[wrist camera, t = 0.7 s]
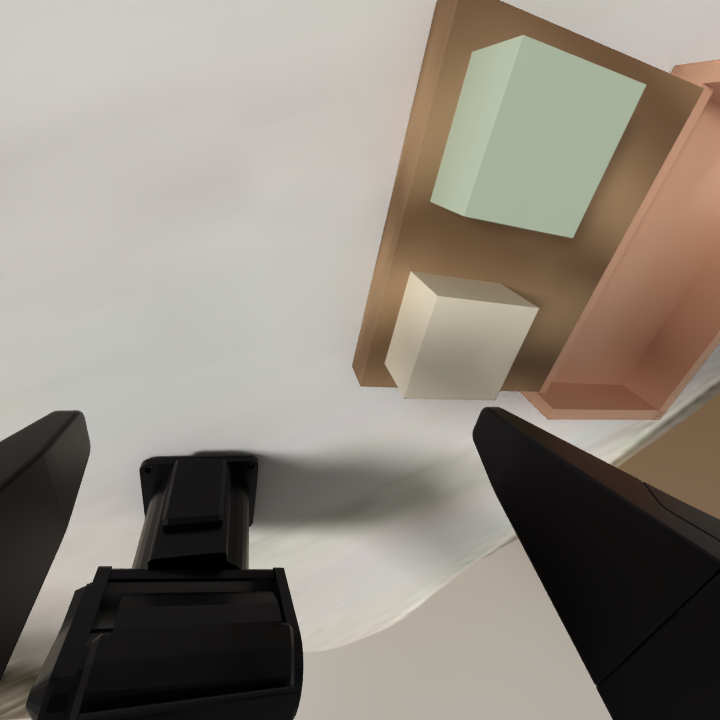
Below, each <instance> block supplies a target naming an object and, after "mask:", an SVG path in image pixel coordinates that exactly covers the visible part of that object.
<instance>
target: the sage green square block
mask: <svg viewBox="0 0 720 720" xmlns="http://www.w3.org/2000/svg"><path fill="white" fill-rule="evenodd" d="M645 87H646V84H644V83H641V82H639V81H636V80H634V79H631V78H629V77H626V76H624V75H621V74H619V73H616V72H614V71H611V70H609V69H607V68H604V67H602V66H599V65H597V64H594V63H592V62H589V61H587V60H584V59H582V58H579V57H577V56H574V55H572V54H569V53H567V52H565V51H562V50H560V49H557V48H555V47H552V46H550V45H547V44H545V43H542V42H540V41H537V40H535V39H532V38H530V37H527V36H525V35H522V36H519V37H516V38H513V39H509V40H506V41H503V42H500V43H497V44H494V45H491V46H488V47H485V48H482V49H479V50H476V51H473V52H472V54H471V58H470V61H469V65H468V68H467V72H466V75H465V79H464V83H463V86H462V90H461V93H460V97H459V100H458V104H457V108H456V111H455V115H454V118H453V122H452V125H451V129H450V132H449V136H448V140H447V143H446V147H445V150H444V154H443V157H442V161H441V164H440V168H439V172H438V175H437V179H436V182H435V186H434V189H433V193H432V196H431V200H430V202H432V203H434V204H436V205H439V206H441V207H443V208H446V209H448V210H450V211H453V212H455V213H457V214H460V215H462V216H465V217H470V218H475V219H480V220H485V221H490V222H495V223H499V224H504V225H509V226H514V227H519V228H524V229H529V230H534V231H539V232H544V233H549V234H554V235H559V236H564V237H569V238H573V237H574V235H575V233H576V231H577V229H578V227H579V224H580V222H581V220H582V218H583V216H584V214H585V212H586V210H587V208H588V206H589V204H590V201H591V199H592V197H593V195H594V193H595V191H596V189H597V187H598V185H599V183H600V181H601V179H602V176H603V174H604V172H605V170H606V168H607V166H608V164H609V162H610V160H611V158H612V156H613V154H614V151H615V149H616V147H617V145H618V143H619V141H620V139H621V137H622V135H623V133H624V131H625V129H626V126H627V124H628V122H629V120H630V118H631V116H632V114H633V112H634V110H635V108H636V106H637V103H638V101H639V99H640V97H641V95H642V93H643V91H644V89H645Z"/></svg>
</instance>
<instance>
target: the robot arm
mask: <svg viewBox="0 0 720 720" xmlns="http://www.w3.org/2000/svg"><path fill="white" fill-rule="evenodd" d="M473 441H474V443H475V446H476V448H477V451H478V453H479V455H480V458H481V460H482V463H483V465H484V468H485V470H486V473H487V475H488V478H489V480H490V483H491V485H492V487H493V489H494V492H495V494H496V496H497V498H498V500H499V502H500V504H501V505H502V507H503V509H504V511H505V513H506V515H507V517H508V519H509V521H510V523H511V525H512V527H513V528H514V530H515V532H516V534H517V536H518V538H519V540H520V542H521V544H522V545H523V548H524V550H525V552H526V553H527V555H528V557H529V559H530V561H531V563H532V565H533V567H534V569H535V571H536V573H537V575H538V576H539V578H540V580H541V582H542V584H543V586H544V588H545V590H546V592H547V594H548V596H549V597H550V599H551V601H552V603H553V605H554V607H555V609H556V611H557V613H558V615H559V617H560V619H561V621H562V622H563V624H564V626H565V628H566V630H567V632H568V634H569V636H570V637H571V639H572V642H573V644H574V645H575V647H576V649H577V651H578V653H579V655H580V657H581V659H582V661H583V663H584V664H585V667H586V669H587V670H588V672H589V674H590V676H591V678H592V680H593V682H594V684H595V685H597V686H596V688H597V690H598V692H599V694H600V696H601V698H602V700H603V702H604V704H605V706H606V707H607V710H608V711H609V713H610V715H611V717H612V719H613V720H720V520H719V519H717V518H715V517H713V516H711V515H709V514H707V513H705V512H703V511H701V510H698V509H697V508H694V507H692V506H690V505H688V504H686V503H684V502H682V501H680V500H678V499H676V498H674V497H672V496H670V495H668V494H666V493H665V492H663V491H661V490H659V489H657V488H655V487H653V486H651V485H649V484H647V483H645V482H642V481H641V480H639V479H637V478H635V477H633V476H631V475H629V474H627V473H626V472H624V471H622V470H620V469H618V468H616V467H614V466H612V465H610V464H608V463H606V462H604V461H602V460H601V459H599V458H597V457H595V456H593V455H591V454H589V453H587V452H585V451H583V450H581V449H579V448H577V447H575V446H573V445H572V444H570V443H568V442H566V441H564V440H562V439H560V438H558V437H556V436H554V435H552V434H550V433H548V432H546V431H545V430H543V429H541V428H539V427H537V426H535V425H533V424H531V423H529V422H527V421H525V420H523V419H521V418H519V417H517V416H516V415H514V414H512V413H510V412H508V411H506V410H504V409H502V408H500V407H485V408H483V409H482V411H481V413H480V415H479V417H478V420H477V422H476V425H475V427H474V429H473ZM89 455H90V440H89V435H88V431H87V426H86V421H85V417H84V415H83V413H82V412H80V411H77V410H73V411H54V412H52V413H50V414H48V415H47V416H45V417H43V418H41V419H39V420H38V421H36V422H34V423H32V424H31V425H29V426H27V427H25V428H24V429H22V430H20V431H18V432H16V433H15V434H13V435H11V436H9V437H8V438H6V439H4V440H2V441H1V442H0V680H1V677H2V675H3V673H4V671H5V668H6V666H7V664H8V662H9V659H10V657H11V655H12V653H13V650H14V648H15V646H16V643H17V641H18V639H19V637H20V634H21V632H22V630H23V628H24V625H25V623H26V621H27V619H28V616H29V614H30V612H31V610H32V607H33V605H34V603H35V601H36V598H37V596H38V594H39V592H40V589H41V587H42V585H43V583H44V580H45V578H46V576H47V573H48V571H49V569H50V567H51V564H52V562H53V560H54V558H55V555H56V553H57V551H58V549H59V546H60V544H61V542H62V539H63V537H64V534H65V532H66V529H67V526H68V523H69V520H70V517H71V514H72V511H73V508H74V504H75V501H76V498H77V494H78V491H79V488H80V485H81V481H82V478H83V475H84V471H85V468H86V465H87V461H88V458H89ZM248 464H251V465H248ZM148 467H152V468H148ZM257 476H258V459H257V458H256V457H254V456H234V457H199V458H164V459H147V460H145V461H143V462H142V464H141V467H140V479H141V488H142V496H143V504H144V513H145V521H144V525H143V529H142V533H141V536H140V540H139V544H138V547H137V551H136V555H135V559H134V562H133V566H132V569H112V566H99V567H98V569H97V572H96V575H95V577H94V580H93V582H92V583H90V584H87V585H86V586H85V587H82V588H80V589H78V590H76V591H75V593H74V596H73V598H72V601H71V604H70V606H69V609H68V612H67V614H66V617H65V619H64V622H63V624H62V627H61V629H60V632H59V634H58V636H57V638H56V640H55V642H54V644H53V646H52V648H51V650H50V652H49V654H48V656H47V658H46V660H45V662H44V664H43V666H42V668H41V671H40V673H39V675H38V677H37V679H36V681H35V683H34V685H33V687H32V689H31V691H30V694H29V697H28V700H27V703H26V706H25V709H26V711H27V712H28V714H29V716H30V717H31V719H32V720H293V719H294V717H295V716H296V713H297V709H298V707H299V702H300V697H301V691H302V682H303V648H302V640H301V635H300V630H299V626H298V622H297V618H296V614H295V610H294V606H293V602H292V599H291V595H290V591H289V587H288V583H287V579H286V575H285V571H284V568H273V569H249V527H250V526H251V525H252V523H253V515H254V505H255V495H256V486H257Z"/></svg>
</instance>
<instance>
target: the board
mask: <svg viewBox="0 0 720 720" xmlns="http://www.w3.org/2000/svg"><path fill="white" fill-rule="evenodd" d="M522 35H525V36H527V37H530V38H532V39H535V40H537V41H540V42H542V43H545V44H547V45H550V46H552V47H555V48H557V49H560V50H562V51H565V52H567V53H569V54H572V55H574V56H577V57H579V58H582V59H584V60H587V61H589V62H592V63H594V64H597V65H599V66H602V67H604V68H607V69H609V70H611V71H614V72H616V73H619V74H621V75H624V76H626V77H629V78H631V79H634V80H636V81H639V82H641V83H644V84H646V87H645V89H644V91H643V93H642V95H641V97H640V99H639V101H638V103H637V106H636V108H635V110H634V112H633V114H632V116H631V118H630V120H629V122H628V124H627V126H626V129H625V131H624V133H623V135H622V137H621V139H620V141H619V143H618V145H617V147H616V149H615V151H614V154H613V156H612V158H611V160H610V162H609V164H608V166H607V168H606V170H605V172H604V174H603V176H602V179H601V181H600V183H599V185H598V187H597V189H596V191H595V193H594V195H593V197H592V199H591V201H590V204H589V206H588V208H587V210H586V212H585V214H584V216H583V218H582V220H581V222H580V224H579V227H578V229H577V231H576V233H575V235H574V237H573V238H569V237H564V236H559V235H554V234H549V233H544V232H539V231H534V230H529V229H524V228H519V227H514V226H509V225H504V224H499V223H495V222H490V221H485V220H480V219H475V218H470V217H465V216H462V215H460V214H457V213H455V212H453V211H450V210H448V209H446V208H443V207H441V206H439V205H436V204H434V203H432V202H430V200H431V196H432V193H433V189H434V186H435V182H436V179H437V175H438V172H439V168H440V164H441V161H442V157H443V154H444V150H445V147H446V143H447V140H448V136H449V132H450V129H451V125H452V122H453V118H454V115H455V111H456V108H457V104H458V100H459V97H460V93H461V90H462V86H463V83H464V79H465V75H466V72H467V68H468V65H469V61H470V58H471V54H472V52H473V51H476V50H479V49H482V48H485V47H488V46H491V45H494V44H497V43H500V42H503V41H506V40H509V39H513V38H516V37H519V36H522ZM703 90H704V88H702V87H700V86H697V85H695V84H693V83H690V82H688V81H686V80H683V79H681V78H679V77H677V76H674V75H672V74H670V73H667V72H665V71H663V70H660V69H658V68H656V67H653V66H651V65H649V64H646V63H644V62H642V61H639V60H637V59H635V58H632V57H630V56H628V55H625V54H623V53H621V52H618V51H616V50H614V49H611V48H609V47H607V46H604V45H602V44H600V43H597V42H595V41H593V40H591V39H588V38H586V37H584V36H581V35H579V34H577V33H574V32H572V31H570V30H567V29H565V28H563V27H560V26H558V25H556V24H553V23H551V22H549V21H546V20H544V19H542V18H539V17H537V16H535V15H532V14H530V13H528V12H525V11H523V10H521V9H518V8H516V7H514V6H512V5H509V4H507V3H505V2H502V1H500V0H438V1H437V3H436V7H435V11H434V15H433V20H432V24H431V28H430V33H429V37H428V41H427V46H426V50H425V54H424V59H423V63H422V67H421V72H420V76H419V80H418V84H417V89H416V93H415V97H414V102H413V106H412V110H411V115H410V119H409V123H408V128H407V132H406V136H405V141H404V145H403V149H402V154H401V158H400V162H399V166H398V171H397V175H396V179H395V184H394V188H393V192H392V197H391V201H390V205H389V210H388V214H387V218H386V223H385V227H384V231H383V235H382V240H381V244H380V248H379V253H378V257H377V261H376V266H375V270H374V274H373V279H372V283H371V287H370V292H369V296H368V300H367V305H366V309H365V313H364V317H363V322H362V326H361V330H360V335H359V339H358V343H357V348H356V352H355V356H354V361H353V365H352V367H353V369H354V372H355V374H356V377H357V379H358V381H359V384H360V386H366V387H397V385H396V383H395V381H394V379H393V378H392V376H391V374H390V372H389V371H388V369H387V367H386V365H385V360H386V357H387V353H388V350H389V346H390V342H391V339H392V335H393V332H394V328H395V325H396V321H397V317H398V314H399V310H400V307H401V303H402V300H403V296H404V293H405V289H406V285H407V282H408V278H409V275H410V271H414V272H421V273H428V274H435V275H442V276H449V277H456V278H463V279H470V280H478V281H485V282H492V283H499V284H502V285H504V286H505V287H507V288H508V289H510V290H512V291H513V292H515V293H516V294H518V295H519V296H521V297H523V298H524V299H526V300H527V301H529V302H530V303H532V304H534V305H535V306H537V307H538V308H539V310H538V312H537V314H536V316H535V318H534V320H533V322H532V324H531V327H530V329H529V331H528V333H527V335H526V337H525V339H524V341H523V343H522V345H521V347H520V350H519V352H518V354H517V356H516V358H515V360H514V362H513V364H512V366H511V368H510V370H509V372H508V375H507V377H506V379H505V381H504V383H503V385H502V387H501V389H500V391H528V392H539V391H540V389H541V388H542V386H543V384H544V382H545V380H546V378H547V377H548V375H549V373H550V371H551V369H552V367H553V366H554V364H555V362H556V360H557V358H558V356H559V355H560V353H561V351H562V349H563V347H564V345H565V344H566V342H567V340H568V338H569V336H570V334H571V333H572V331H573V329H574V327H575V325H576V323H577V321H578V320H579V318H580V316H581V314H582V312H583V310H584V309H585V307H586V305H587V303H588V301H589V299H590V298H591V296H592V294H593V292H594V290H595V288H596V287H597V285H598V283H599V281H600V279H601V277H602V276H603V274H604V272H605V270H606V268H607V266H608V265H609V263H610V261H611V259H612V257H613V255H614V254H615V252H616V250H617V248H618V246H619V244H620V243H621V241H622V239H623V237H624V235H625V233H626V232H627V230H628V228H629V226H630V224H631V222H632V220H633V219H634V217H635V215H636V213H637V211H638V209H639V208H640V206H641V204H642V202H643V200H644V198H645V197H646V195H647V193H648V191H649V189H650V187H651V186H652V184H653V182H654V180H655V178H656V176H657V175H658V173H659V171H660V169H661V167H662V165H663V164H664V162H665V160H666V158H667V156H668V154H669V153H670V151H671V149H672V147H673V145H674V143H675V142H676V140H677V138H678V136H679V134H680V132H681V130H682V129H683V127H684V125H685V123H686V121H687V119H688V118H689V116H690V114H691V112H692V110H693V108H694V107H695V105H696V103H697V101H698V99H699V97H700V96H701V94H702V92H703Z"/></svg>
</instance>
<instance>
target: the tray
mask: <svg viewBox="0 0 720 720" xmlns="http://www.w3.org/2000/svg"><path fill="white" fill-rule="evenodd" d="M671 74H672V75H674V76H677V77H679V78H681V79H683V80H686V81H688V82H690V83H693V84H695V85H697V86H700V87H702V88H704V90H703V92H702V94H701V96H700V97H699V99H698V101H697V103H696V105H695V107H694V108H693V110H692V112H691V114H690V116H689V118H688V119H687V121H686V123H685V125H684V127H683V129H682V130H681V132H680V134H679V136H678V138H677V140H676V142H675V143H674V145H673V147H672V149H671V151H670V153H669V154H668V156H667V158H666V160H665V162H664V164H663V165H662V167H661V169H660V171H659V173H658V175H657V176H656V178H655V180H654V182H653V184H652V186H651V187H650V189H649V191H648V193H647V195H646V197H645V198H644V200H643V202H642V204H641V206H640V208H639V209H638V211H637V213H636V215H635V217H634V219H633V220H632V222H631V224H630V226H629V228H628V230H627V232H626V233H625V235H624V237H623V239H622V241H621V243H620V244H619V246H618V248H617V250H616V252H615V254H614V255H613V257H612V259H611V261H610V263H609V265H608V266H607V268H606V270H605V272H604V274H603V276H602V277H601V279H600V281H599V283H598V285H597V287H596V288H595V290H594V292H593V294H592V296H591V298H590V299H589V301H588V303H587V305H586V307H585V309H584V310H583V312H582V314H581V316H580V318H579V320H578V321H577V323H576V325H575V327H574V329H573V331H572V333H571V334H570V336H569V338H568V340H567V342H566V344H565V345H564V347H563V349H562V351H561V353H560V355H559V356H558V358H557V360H556V362H555V364H554V366H553V367H552V369H551V371H550V373H549V375H548V377H547V378H546V380H545V382H544V384H543V386H542V388H541V389H540V391H539V392H528V391H520V392H521V393H522V394H523V395H524V396H525V397H526V398H527V399H528V400H529V401H530V402H531V403H532V404H533V405H534V406H535V407H536V408H537V409H538V410H539V411H540V412H541V413H542V414H543V415H544V416H545V417H546V418H547V419H617V420H660V419H661V418H662V416H663V415H664V414H665V413H666V411H667V410H668V409H669V407H670V406H671V405H672V404H673V402H674V401H675V400H676V398H677V397H678V396H679V395H680V393H681V392H682V391H683V389H684V388H685V387H686V385H687V384H688V383H689V382H690V380H691V379H692V378H693V376H694V375H695V374H696V373H697V371H698V370H699V369H700V367H701V366H702V365H703V364H704V362H705V361H706V360H707V358H708V357H709V356H710V355H711V353H712V352H713V351H714V349H715V348H716V347H717V346H718V344H719V343H720V59H719V60H712V61H705V62H697V63H690V64H683V65H676V66H674V68H673V70H672V72H671Z"/></svg>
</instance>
